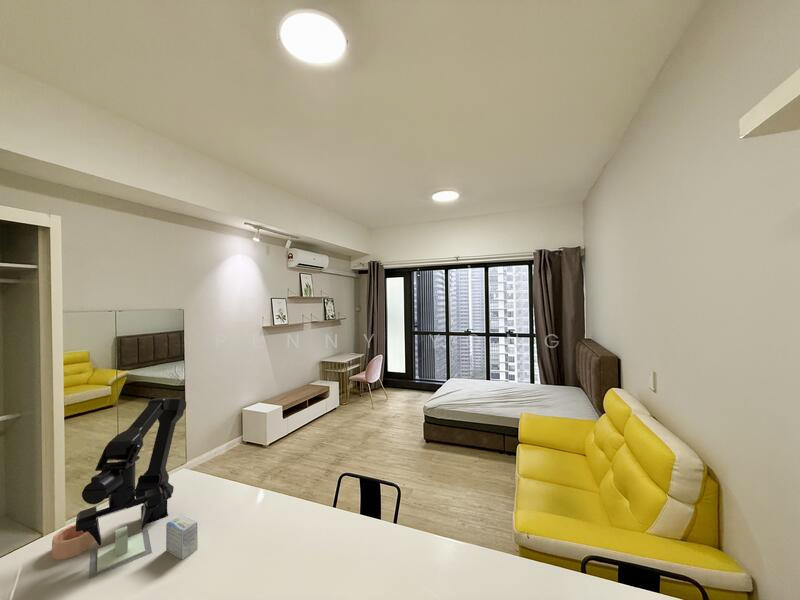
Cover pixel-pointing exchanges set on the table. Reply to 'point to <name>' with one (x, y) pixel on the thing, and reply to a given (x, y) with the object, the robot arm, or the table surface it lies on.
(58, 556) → the bowl
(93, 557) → the mat
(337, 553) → the table surface
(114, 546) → the mint green lid
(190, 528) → the medicine box
